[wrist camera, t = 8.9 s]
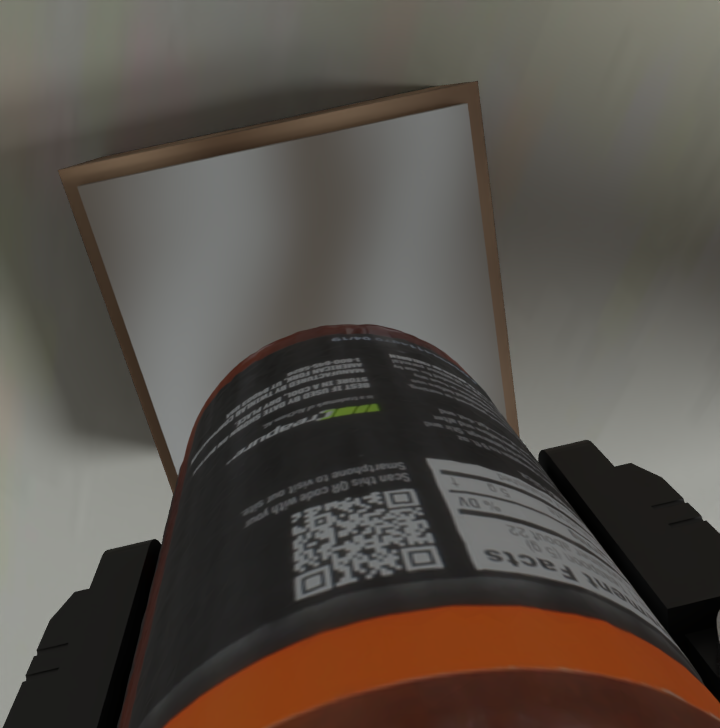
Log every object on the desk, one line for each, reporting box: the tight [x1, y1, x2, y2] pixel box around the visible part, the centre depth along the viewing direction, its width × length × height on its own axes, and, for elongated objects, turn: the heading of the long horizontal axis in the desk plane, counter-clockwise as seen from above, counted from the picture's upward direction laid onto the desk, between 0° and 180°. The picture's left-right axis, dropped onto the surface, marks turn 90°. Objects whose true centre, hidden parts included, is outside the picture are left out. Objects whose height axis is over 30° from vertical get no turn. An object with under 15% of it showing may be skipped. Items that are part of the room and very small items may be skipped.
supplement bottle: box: [117, 324, 720, 728], centre depth 8 cm, size 6×6×11 cm
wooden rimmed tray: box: [58, 81, 520, 494], centre depth 23 cm, size 12×12×6 cm
